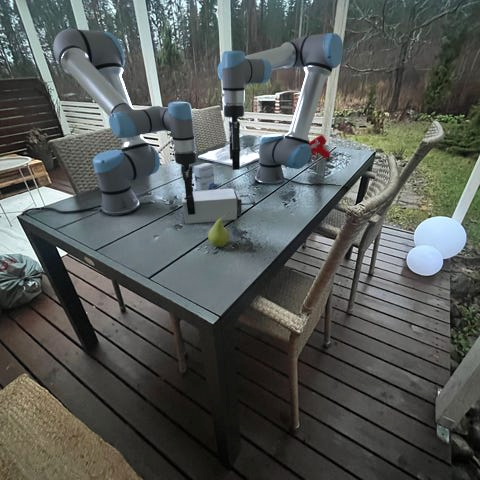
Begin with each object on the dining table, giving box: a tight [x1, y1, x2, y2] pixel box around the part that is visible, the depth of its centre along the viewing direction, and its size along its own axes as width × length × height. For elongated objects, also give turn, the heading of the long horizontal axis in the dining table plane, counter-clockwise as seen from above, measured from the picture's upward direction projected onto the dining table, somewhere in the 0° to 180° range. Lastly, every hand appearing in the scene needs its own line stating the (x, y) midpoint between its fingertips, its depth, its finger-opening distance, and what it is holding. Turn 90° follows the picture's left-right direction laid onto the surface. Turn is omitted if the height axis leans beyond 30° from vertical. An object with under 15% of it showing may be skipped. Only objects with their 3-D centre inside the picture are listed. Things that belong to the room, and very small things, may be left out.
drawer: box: [234, 190, 256, 217], centre depth 109 cm, size 25×9×7 cm, turn 100°
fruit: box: [207, 212, 230, 248], centre depth 89 cm, size 7×8×12 cm
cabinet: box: [181, 187, 238, 225], centre depth 109 cm, size 20×10×9 cm, turn 100°
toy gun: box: [309, 133, 331, 161], centre depth 176 cm, size 18×4×15 cm
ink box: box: [193, 162, 215, 191], centre depth 132 cm, size 8×5×12 cm, turn 135°
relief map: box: [197, 143, 259, 168], centre depth 180 cm, size 27×35×5 cm
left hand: (191, 207), depth 108 cm, fingers closed on cabinet, 10 cm apart
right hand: (234, 164), depth 107 cm, fingers open, 13 cm apart
